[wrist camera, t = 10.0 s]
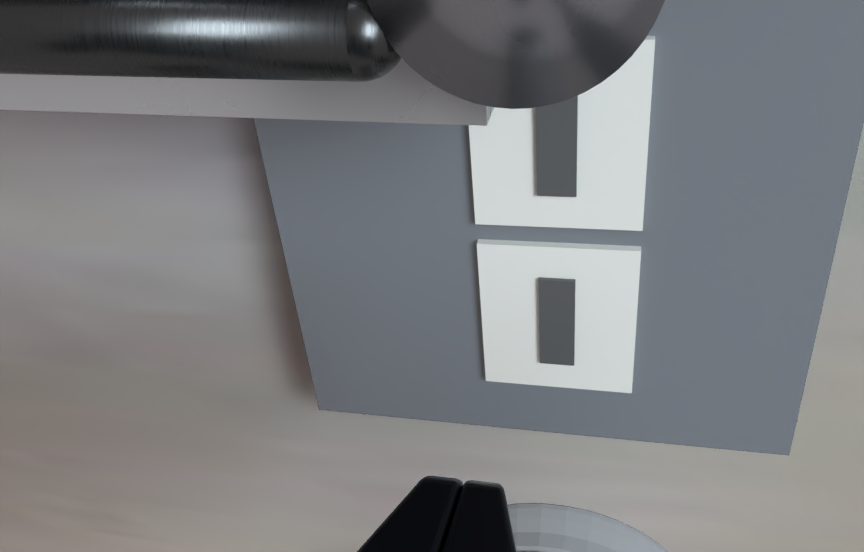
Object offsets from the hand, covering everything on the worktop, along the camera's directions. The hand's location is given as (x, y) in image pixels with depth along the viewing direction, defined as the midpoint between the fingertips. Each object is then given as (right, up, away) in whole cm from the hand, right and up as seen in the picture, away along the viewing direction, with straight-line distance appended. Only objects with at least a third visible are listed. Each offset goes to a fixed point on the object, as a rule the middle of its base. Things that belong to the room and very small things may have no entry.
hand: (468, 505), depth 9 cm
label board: (+2, +6, +9) cm, 11 cm away
